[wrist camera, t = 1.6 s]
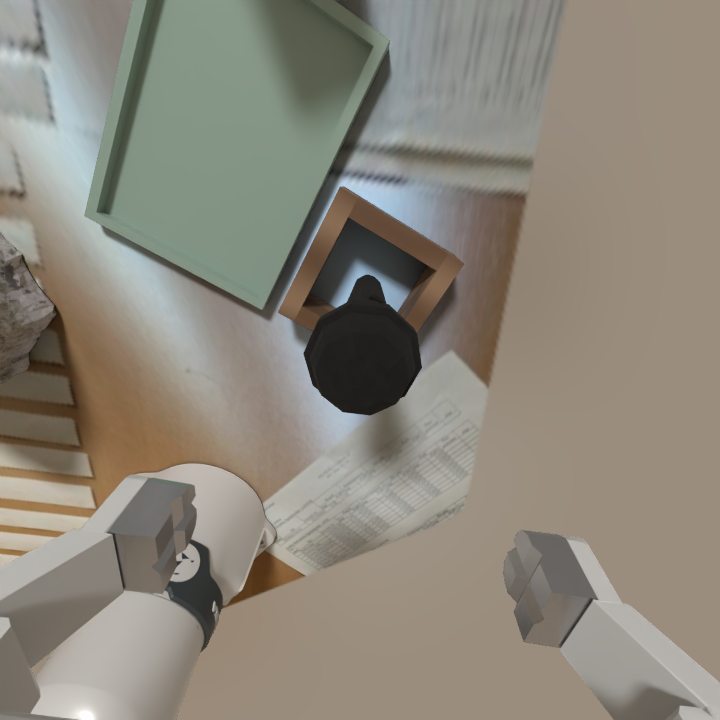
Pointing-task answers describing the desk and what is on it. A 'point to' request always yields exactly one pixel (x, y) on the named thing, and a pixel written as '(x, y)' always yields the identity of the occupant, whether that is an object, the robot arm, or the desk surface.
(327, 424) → the desk surface
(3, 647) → the robot arm
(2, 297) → the petrified wood
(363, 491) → the desk surface
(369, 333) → the microphone
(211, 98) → the tray
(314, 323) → the holder
